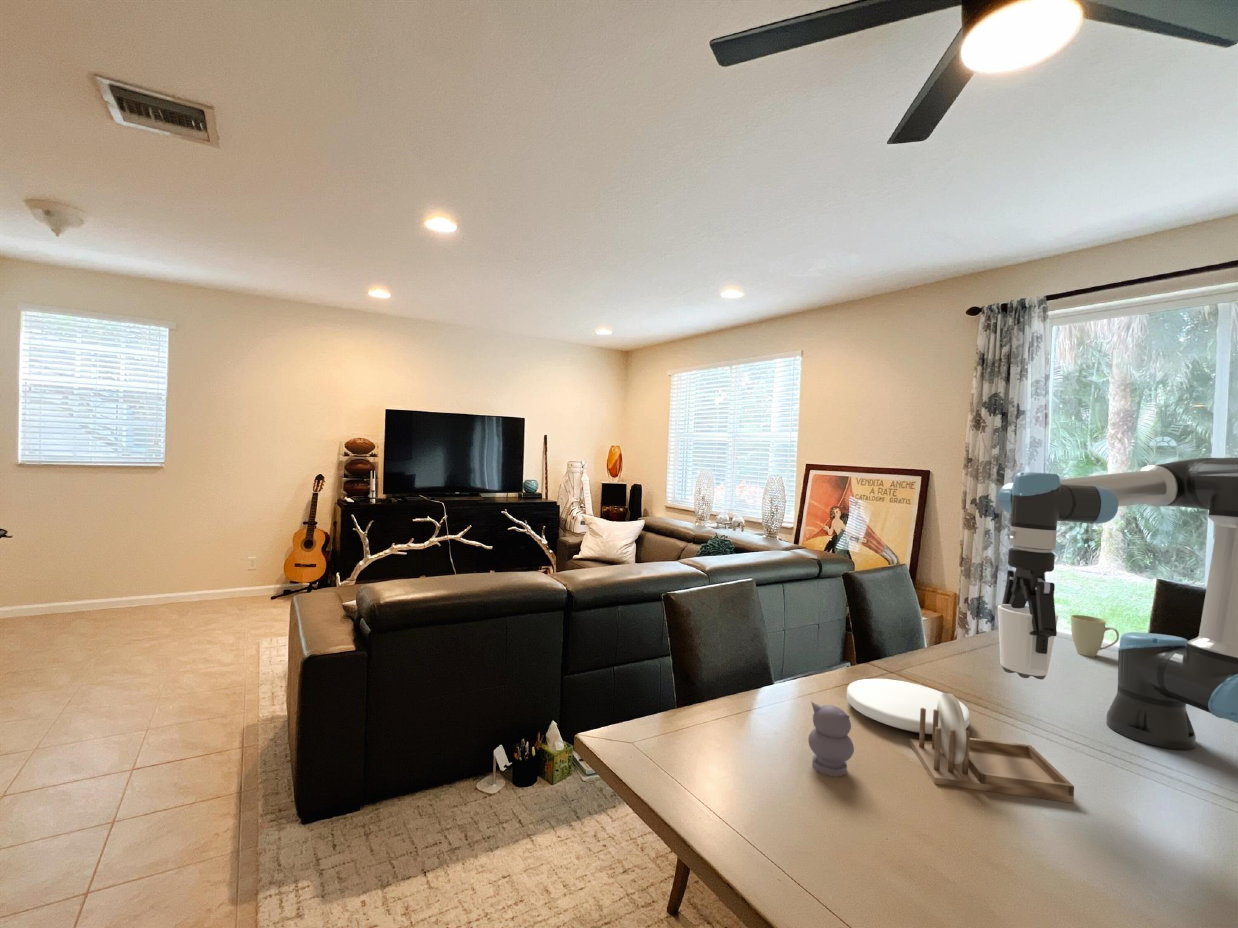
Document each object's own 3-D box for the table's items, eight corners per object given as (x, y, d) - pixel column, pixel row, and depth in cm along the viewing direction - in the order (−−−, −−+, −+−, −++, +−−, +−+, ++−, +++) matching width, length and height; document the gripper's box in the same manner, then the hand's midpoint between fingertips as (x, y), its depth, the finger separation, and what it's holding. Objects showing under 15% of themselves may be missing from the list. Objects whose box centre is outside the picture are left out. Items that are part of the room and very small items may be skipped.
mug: (1081, 658, 185) (1083, 621, 185) (1063, 648, 195) (1064, 613, 195) (1119, 661, 183) (1121, 624, 183) (1099, 651, 193) (1100, 616, 193)
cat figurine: (859, 769, 112) (862, 708, 111) (842, 784, 106) (845, 720, 106) (818, 752, 118) (820, 694, 117) (800, 765, 112) (802, 705, 112)
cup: (1051, 672, 116) (1056, 610, 116) (1056, 687, 107) (1061, 619, 107) (993, 660, 121) (997, 601, 121) (993, 673, 113) (997, 609, 113)
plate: (837, 669, 153) (945, 681, 148) (836, 694, 153) (945, 707, 147) (860, 700, 126) (993, 716, 121) (859, 730, 125) (993, 748, 120)
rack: (1029, 759, 118) (1032, 691, 118) (1073, 802, 103) (1076, 724, 103) (910, 744, 122) (912, 678, 122) (934, 783, 107) (937, 708, 107)
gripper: (987, 540, 126) (980, 641, 126) (1038, 555, 104) (1030, 677, 104) (1025, 543, 124) (1018, 645, 124) (1086, 559, 102) (1077, 683, 102)
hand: (1024, 659), depth 114 cm, fingers closed on cup, 10 cm apart
